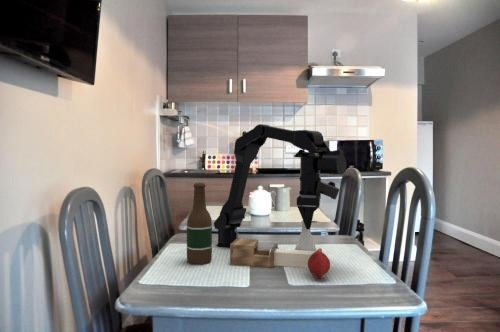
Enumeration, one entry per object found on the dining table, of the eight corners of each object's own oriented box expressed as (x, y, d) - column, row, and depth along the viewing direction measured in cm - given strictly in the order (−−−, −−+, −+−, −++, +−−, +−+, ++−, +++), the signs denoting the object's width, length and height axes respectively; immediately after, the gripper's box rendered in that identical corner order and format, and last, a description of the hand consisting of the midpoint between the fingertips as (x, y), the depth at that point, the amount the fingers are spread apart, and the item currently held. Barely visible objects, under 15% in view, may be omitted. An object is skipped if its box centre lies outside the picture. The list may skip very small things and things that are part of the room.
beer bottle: (216, 259, 112) (217, 182, 111) (203, 266, 105) (203, 184, 104) (195, 256, 115) (195, 181, 114) (181, 263, 108) (181, 183, 107)
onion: (316, 283, 92) (317, 252, 91) (303, 276, 97) (303, 247, 96) (334, 279, 94) (334, 249, 94) (320, 273, 99) (320, 244, 99)
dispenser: (230, 264, 107) (230, 244, 107) (236, 257, 115) (236, 238, 114) (273, 267, 104) (273, 247, 104) (277, 259, 112) (277, 240, 112)
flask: (315, 247, 127) (315, 219, 127) (317, 253, 120) (317, 223, 120) (294, 246, 128) (295, 218, 127) (295, 252, 121) (295, 222, 120)
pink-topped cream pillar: (269, 265, 106) (269, 251, 106) (271, 261, 110) (271, 248, 110) (317, 268, 103) (317, 254, 103) (317, 264, 107) (317, 251, 107)
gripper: (339, 175, 95) (338, 234, 95) (337, 172, 113) (336, 221, 113) (296, 174, 97) (295, 232, 98) (301, 171, 115) (300, 219, 116)
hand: (309, 225), depth 106 cm, fingers open, 9 cm apart
